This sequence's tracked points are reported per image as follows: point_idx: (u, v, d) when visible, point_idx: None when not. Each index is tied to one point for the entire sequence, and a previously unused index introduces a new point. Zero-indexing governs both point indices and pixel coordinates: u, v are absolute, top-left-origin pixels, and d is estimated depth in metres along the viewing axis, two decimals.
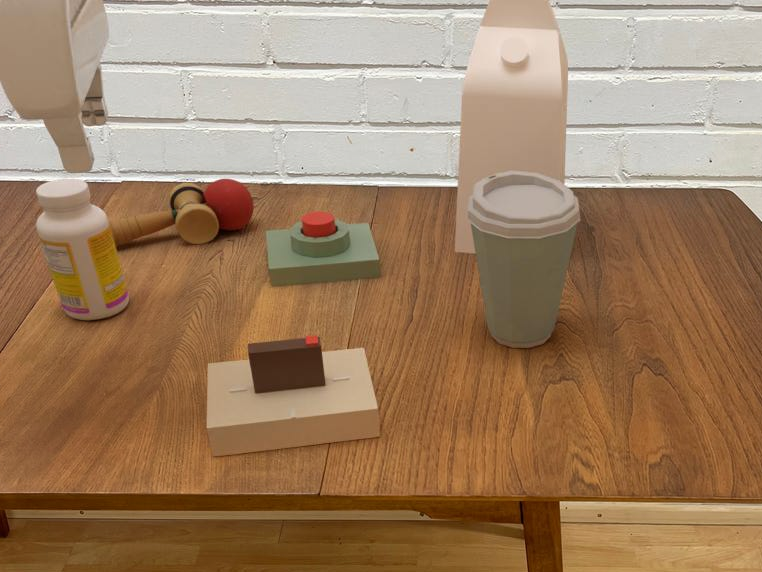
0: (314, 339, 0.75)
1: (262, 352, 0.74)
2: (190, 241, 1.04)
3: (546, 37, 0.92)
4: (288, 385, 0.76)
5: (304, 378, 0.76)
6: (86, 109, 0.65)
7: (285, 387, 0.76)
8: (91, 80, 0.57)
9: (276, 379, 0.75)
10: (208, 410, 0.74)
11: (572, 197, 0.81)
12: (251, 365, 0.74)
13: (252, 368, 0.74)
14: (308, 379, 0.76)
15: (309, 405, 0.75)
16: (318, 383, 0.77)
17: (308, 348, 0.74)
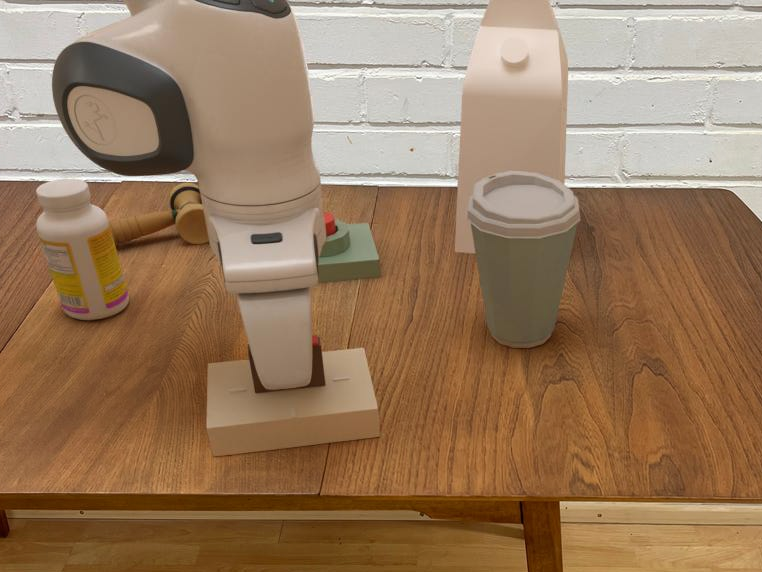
0: (314, 339, 0.75)
1: None
2: (190, 241, 1.04)
3: (546, 37, 0.92)
4: None
5: None
6: None
7: None
8: None
9: None
10: (208, 410, 0.74)
11: (572, 197, 0.81)
12: (251, 365, 0.74)
13: (252, 368, 0.74)
14: None
15: (309, 405, 0.75)
16: (318, 383, 0.77)
17: None
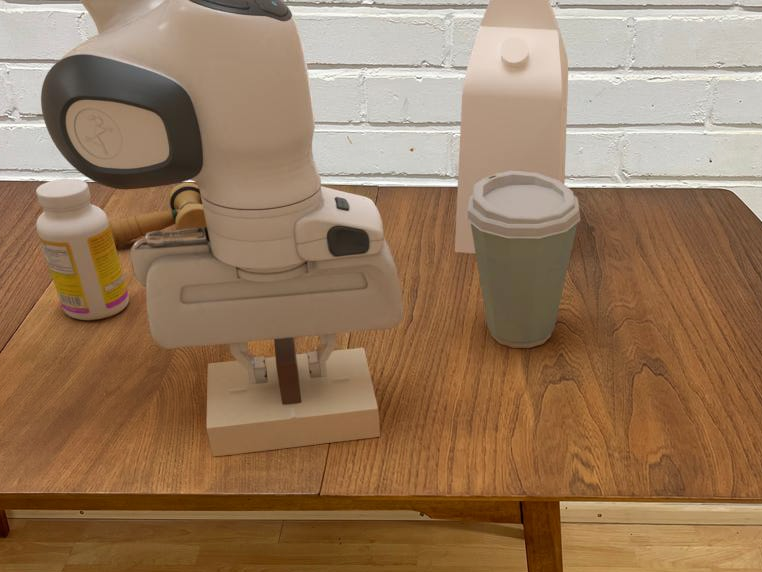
0: None
1: (294, 356, 0.73)
2: None
3: (546, 37, 0.92)
4: None
5: (297, 366, 0.77)
6: None
7: None
8: None
9: None
10: (208, 410, 0.74)
11: (572, 197, 0.81)
12: (297, 374, 0.73)
13: (298, 376, 0.73)
14: (297, 365, 0.78)
15: (309, 405, 0.75)
16: (297, 365, 0.79)
17: None
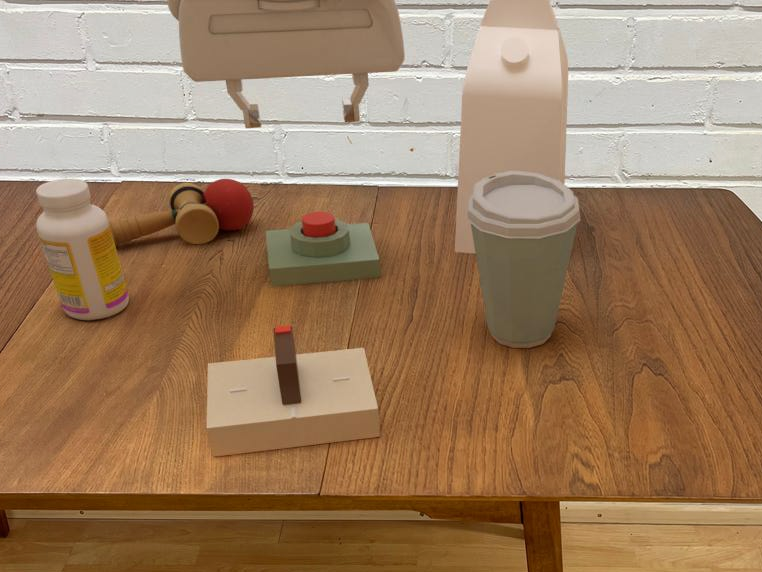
0: (282, 327, 0.76)
1: (294, 356, 0.73)
2: (190, 241, 1.04)
3: (546, 37, 0.92)
4: None
5: (297, 366, 0.77)
6: None
7: None
8: None
9: None
10: (208, 410, 0.74)
11: (572, 197, 0.81)
12: (297, 374, 0.73)
13: (298, 376, 0.73)
14: (297, 365, 0.78)
15: (309, 405, 0.75)
16: (297, 365, 0.79)
17: (292, 333, 0.76)
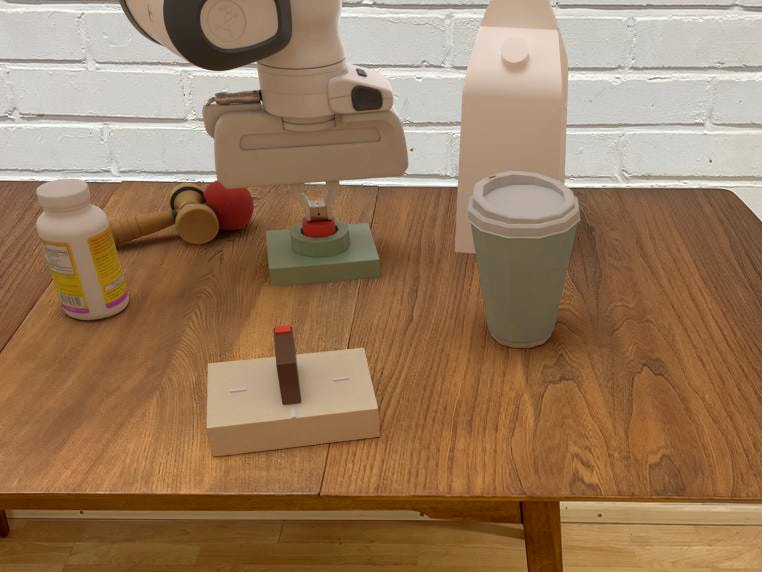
0: (282, 327, 0.76)
1: (294, 356, 0.73)
2: (190, 241, 1.04)
3: (546, 37, 0.92)
4: None
5: (297, 366, 0.77)
6: None
7: None
8: None
9: None
10: (208, 410, 0.74)
11: (572, 197, 0.81)
12: (297, 374, 0.73)
13: (298, 376, 0.73)
14: (297, 365, 0.78)
15: (309, 405, 0.75)
16: (297, 365, 0.79)
17: (292, 333, 0.76)
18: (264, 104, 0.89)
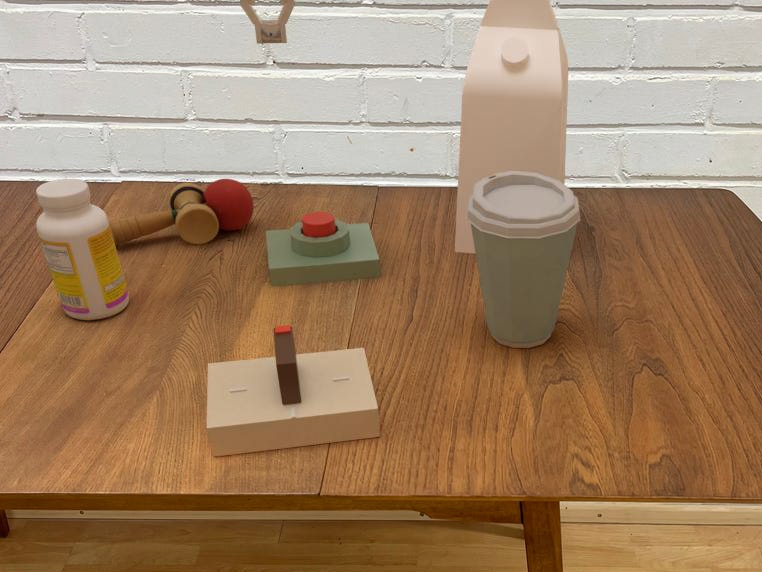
0: (282, 327, 0.76)
1: (294, 356, 0.73)
2: (190, 241, 1.04)
3: (546, 37, 0.92)
4: None
5: (297, 366, 0.77)
6: None
7: None
8: None
9: None
10: (208, 410, 0.74)
11: (572, 197, 0.81)
12: (297, 374, 0.73)
13: (298, 376, 0.73)
14: (297, 365, 0.78)
15: (309, 405, 0.75)
16: (297, 365, 0.79)
17: (292, 333, 0.76)
18: None
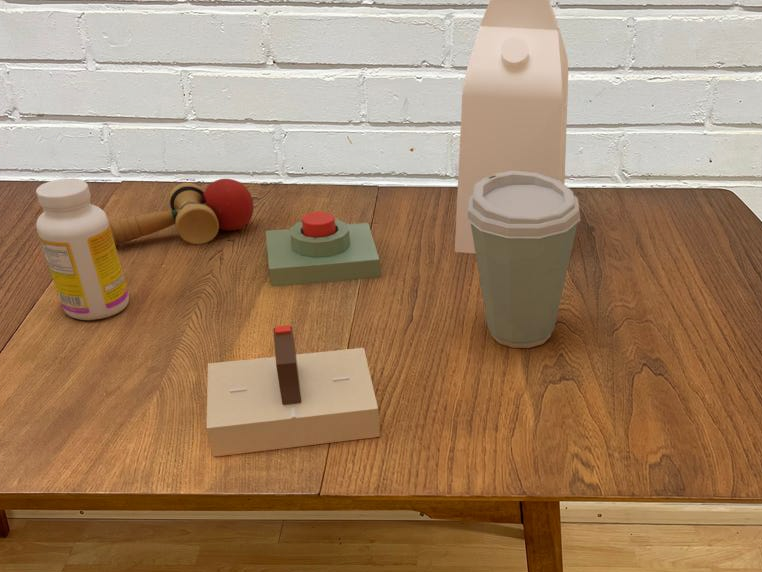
0: (282, 327, 0.76)
1: (294, 356, 0.73)
2: (190, 241, 1.04)
3: (546, 37, 0.92)
4: None
5: (297, 366, 0.77)
6: None
7: None
8: None
9: None
10: (208, 410, 0.74)
11: (572, 197, 0.81)
12: (297, 374, 0.73)
13: (298, 376, 0.73)
14: (297, 365, 0.78)
15: (309, 405, 0.75)
16: (297, 365, 0.79)
17: (292, 333, 0.76)
18: None
